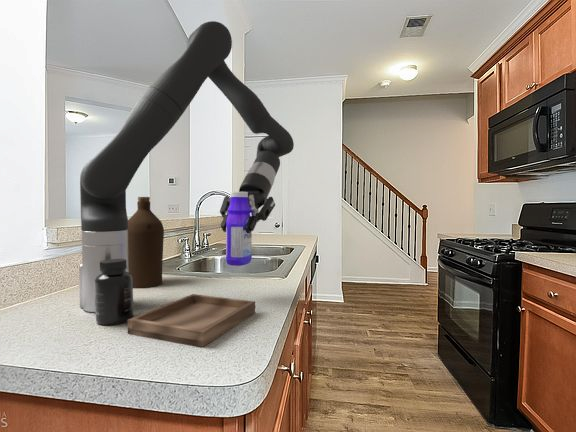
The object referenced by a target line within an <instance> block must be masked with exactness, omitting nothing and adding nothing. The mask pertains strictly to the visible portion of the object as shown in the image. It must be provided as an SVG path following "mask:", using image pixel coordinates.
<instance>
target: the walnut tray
mask: <svg viewBox="0 0 576 432" xmlns="http://www.w3.org/2000/svg"><path fill="white" fill-rule="evenodd" d="M254 314H256V301H253V300H246V299H245V300H244V299H238V298H237V299H236V298H227V297H221V296H213V295H204V294H196V293H192V294H190V295H187V296H184V297H181V298H179V299H177V300H174V301H171V302H169V303H166V304H163V305H162V306H159V307H157V308H154V309H151V310H149V311H146V312H143V313H140V314H139V315H137V316H133V317H132V318H131V319H128V321H127V334H128V335H132V336H133V335H134V336H139V337H144V338H149V339H156V340H160V341H167V342H172V343H177V344H183V345H188V346H192V347H199V348H205V347H206V346H208V345H209V344H211V343H213V342H214V341H215V340H216V339H218V338H220V337H221V336H222V335H223V336H224V334H225V333H227V332H229V331H231V330H233V328H235V327H236V326H238V325H240V324H241V323H242V322H244V321H246V320H247V319H248V318H250V317H252V316H254Z"/></svg>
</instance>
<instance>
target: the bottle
mask: <svg viewBox="0 0 576 432" xmlns="http://www.w3.org/2000/svg"><path fill="white" fill-rule="evenodd" d="M230 198H231V202H230V206H229V208H228V209H227V211H228V213H229V215H228V217H227V221H226V232H225V236H226V237H225V260H226V264H227V266H234V267H241V266H245V265H248V264H250V263H251V261H252V256H253V255H252V253H253V251H252V250H253V249H252V243H253V242H252V234H253V233H252V232H253V231H251V233H247V232H246V230H245V226H246V224H247V222H248V219H249V217H250V216H251V213H250V212H251V209H250V207H249V204H248V192H239V191H231V192H230Z"/></svg>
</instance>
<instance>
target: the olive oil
mask: <svg viewBox="0 0 576 432" xmlns="http://www.w3.org/2000/svg"><path fill="white" fill-rule="evenodd" d="M150 199H151V197H150V196H137V210H136V212H135V213H133V215H132V216H131V217H129V218H128V261H129V273H130V274H131V275H132V279H133V289H134V288H135V289H143V288H152V287H157V286H160V285H161V284H162V283H163V264H164V263H163V259H164V257H163V256H164V237H165V230H164V225H163V222H162V221H161V220H160V219H159V218H158V216H156V214H155V213H154V212H152V209H151V201H150Z"/></svg>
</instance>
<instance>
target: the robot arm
mask: <svg viewBox="0 0 576 432" xmlns="http://www.w3.org/2000/svg"><path fill="white" fill-rule="evenodd" d="M232 48H233V39H232V34H231V32H230V30H229V28H228V27H227V26H225V25H224V24H223V23H222V22H219V21H214V20H212V21H207V22H204V23H202V24H200V25H199V26H198V27H197V28H196V29H195V30H194V31H192V33H191V34H190V35H189V36H188V39H187V40H186V49H185V51H184V52H183V53H182V55H181V56H180V57H179V58H178V59H177V60H176V61H175V62H174V63H173V64H171V65H170V66H169V67H168V68H167V69H166V70H165V71H163V73H161V74H160V75H159V76H158V77H157V78H156V79H155V80H154V81H153V82H152V83H151V84H150V85H149V86H148V88H147V89H146V90H145V92H144V93H143V94H141V96H140V98H139V99H138V100H137V102H136V103H135V104H134V106H133V107H132V109H131V111H130V112H129V114H128V115H127V117H126V119H125V121H124V122H123V123H122V126H121V128H120V129H119V131H118V132H117V133H116V134H115V136H114V137H113V138H112V139H111V140H110V141H109V142H108V143H107V144H106V145H105V146H104V147H103V148H102V149H101V150H100V151H99V152H97V154H96V155H95V156H94V157H92V158H91V159H89V161H88V162H86V163H85V165H84V166H83V168H82V170H81V173H80V178H79V180H80V181H79V185H80V186H79V192H80V195H79V196H80V199H79V200H80V221H81V223H80V225H81V228H80V229H81V264H80V265H79V267H78V271H79V272H78V273H79V275H78V279H79V283H78V285H79V286H78V287H79V308H82V310H83V311H84V312H89V313H95V287H94V281H95V279H96V277H97V276H98V275H100V274H101V272H100V271H99V269H100V261H103V260H109V259H126V263H127V269H126V272H128V273H129V261H128V220H129V218H128V212H127V199H126V197H127V193H126V192H127V189H128V188H129V185H130V184H131V182H132V180H133V178H134V177H135V174H136V173H137V172H138V169H139V168H140V167H141V165H142V163H143V161H145V159H146V157H147V156H148V155H149V153H150V152H151V151H152V150H153V149H154V148H155V147H156V146H157V145H158V144H159V143H160V142H161V141H162V139H164V137H166V135H167V134H169V132H170V131H171V129H173V127H174V126H175V125H176V123H177V122H178V121H179V120H180V118H181V116H182V115H183V114H184V113H185V111H186V110H187V109H188V107H189V106H190V104H191V103H192V102H193V100H194V98H195V97H196V95H197V93H198V92H199V90H200V89H201V87H202V85H204V83H205V81H206V80H207V79H210V81H212V83H213V84H214V85H215V86H216V87H217V89H218V90H219V91H220V92H221V93H222V94H223V95H224V96H225V98H226V99H227V100H228V101H229V102H230V103H231V105H232V107H234V108H235V110H236V112H237V113H238V115H239V116H240V118H242V120H243V122H245V124H246V125H247V127H248V128H249V130H250V131H251V133H253V134H255V135H257V134H266V135H267V136H265V137H263V138H262V139H261V140H260V141H259V142H258V144H257V148H256V149H257V150H256V158H255V159H254V161H253V164H252V165H251V167H250V168H249V169H248V171H247V173H246V174H245V177H244V179H243V180H242V183H241V184H240V185H239V189H238V192H248V204H249V207H250V209H251V212H250V217H249V219H248V222H247V224H246V226H245V230H246V232H247V233H251V231H252V232H253V231H254V230H255V228H256V226H257V224H258V223H259V222H260V221H262V222H265V221H267V219H268V217H269V216H270V215H271V213H272V211H273V210H274V209H275V207H276V203H275V200H274V197H272V196H269V194H270V192H271V190H272V187H273V186H274V183H275V179H276V176H277V173H278V171H279V169H280V166H281V160H280V158H282V157H283V156H286V155H288V154H290V153H291V152H293V150H294V147H295V146H294V145H295V143H294V138H293V137H292V135H291V133H290V132H289V131H288V130H287V129H285V127H284V126H282V125H281V124H280V123H279V122H278V121H277V120H276V119H275V118H274V117H272V116H271V114H270V113H269V111H268V110H267V108H266V107H265V105H264V103H263V102H262V101H261V99H260V98H259V97H258V95H257V94H256V93H255V92H254V91H253V90H252V89H251V88H249V87H248V86H247V85H245V84H244V83H243V82H242V81H241V80H240V79H239V78H237V76H236V75H235V74H234V72H233V71H232V70H231V68H230V67H229V65H228V64H227V62H226V61H225V60H226V59H227V58H229V55H230V53H231V52H232ZM230 202H231V197H230V196H228V195H225V196H224V197H223V201H222V204H221V207H220V210H219V213H220V215H221V217H222V221H221V222H220V227H221V230H222V231H223V232H224V233H226V221H227V217H228V215H229V213H228V211H227V209H228V208H229V206H230ZM260 208H261V209H260ZM259 209H260V210H259Z"/></svg>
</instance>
